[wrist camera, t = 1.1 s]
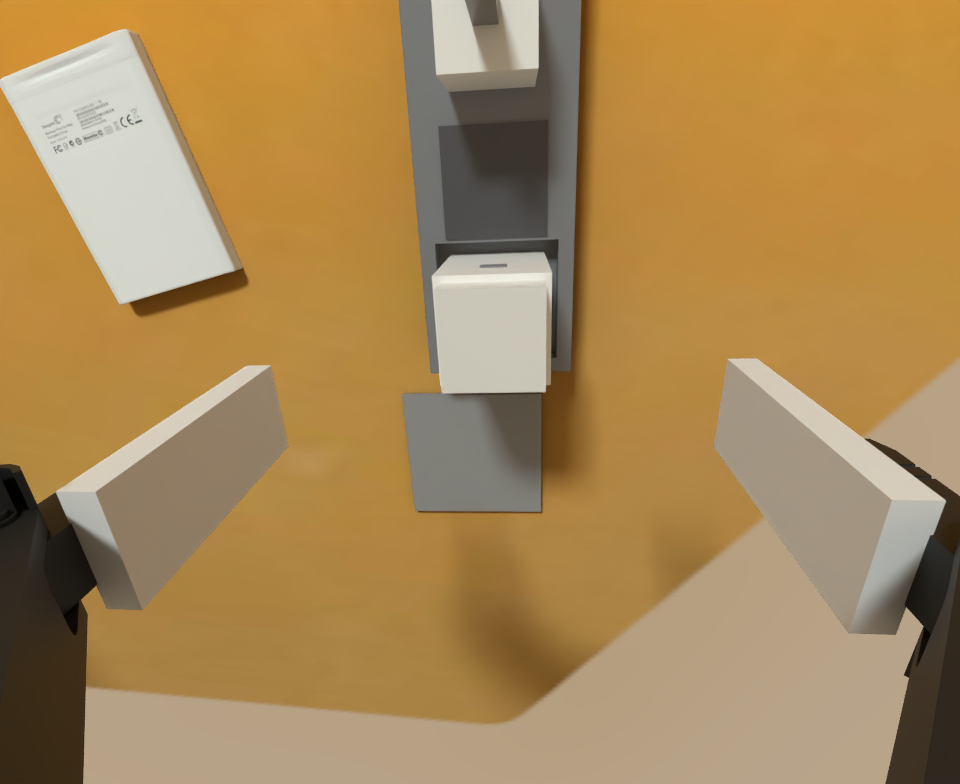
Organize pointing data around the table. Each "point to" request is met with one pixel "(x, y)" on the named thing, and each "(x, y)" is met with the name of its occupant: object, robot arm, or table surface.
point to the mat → (475, 450)
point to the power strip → (495, 138)
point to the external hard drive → (122, 166)
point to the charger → (494, 322)
